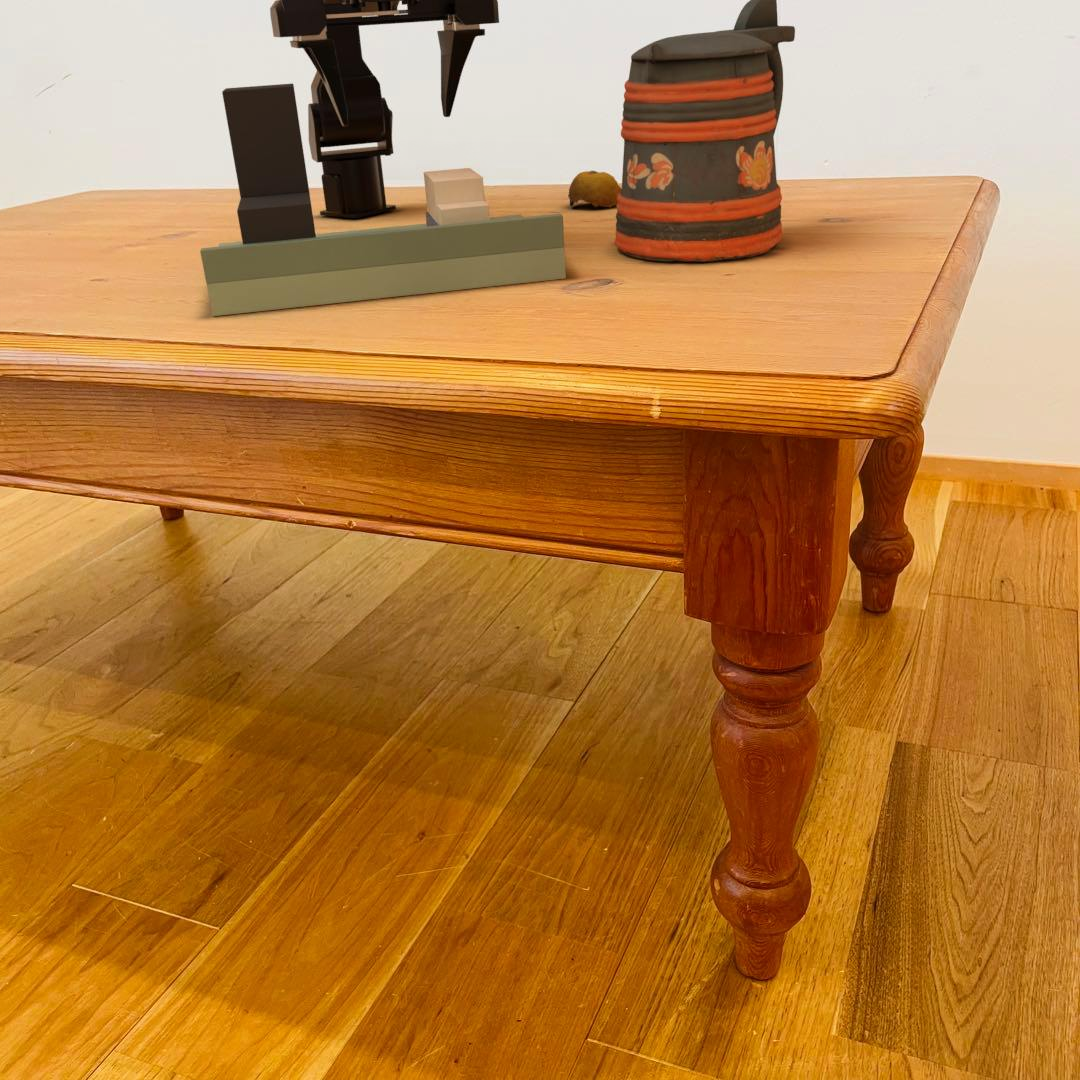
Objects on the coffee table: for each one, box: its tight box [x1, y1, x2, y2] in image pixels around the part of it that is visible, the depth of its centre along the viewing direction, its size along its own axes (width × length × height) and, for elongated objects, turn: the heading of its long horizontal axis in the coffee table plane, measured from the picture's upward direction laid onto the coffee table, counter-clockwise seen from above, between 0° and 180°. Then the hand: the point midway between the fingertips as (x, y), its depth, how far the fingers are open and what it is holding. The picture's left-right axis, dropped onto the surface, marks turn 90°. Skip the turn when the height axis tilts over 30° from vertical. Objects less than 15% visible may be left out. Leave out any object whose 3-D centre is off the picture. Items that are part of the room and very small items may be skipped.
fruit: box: [567, 170, 622, 208], centre depth 119 cm, size 8×8×4 cm
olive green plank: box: [199, 213, 567, 317], centre depth 92 cm, size 18×28×5 cm, turn 102°
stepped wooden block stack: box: [423, 167, 490, 226], centre depth 93 cm, size 10×4×5 cm, turn 12°
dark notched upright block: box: [221, 83, 317, 244], centre depth 86 cm, size 12×6×13 cm, turn 12°
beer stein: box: [614, 0, 796, 263], centre depth 93 cm, size 19×15×20 cm
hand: (396, 121), depth 95 cm, fingers open, 9 cm apart
